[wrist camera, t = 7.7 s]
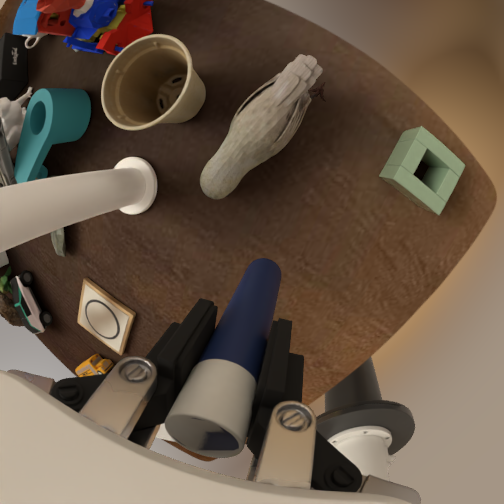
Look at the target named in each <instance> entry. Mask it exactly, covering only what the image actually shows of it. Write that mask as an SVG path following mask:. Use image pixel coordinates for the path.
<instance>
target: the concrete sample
mask: <svg viewBox="0 0 504 504" xmlns="http://www.w3.org/2000/svg"><path fill="white" fill-rule="evenodd" d="M0 314H1V316H2V317H4V318H5V320H7V321H8V322H9V323H10V324H12V325H13V326H24V324H23V322H22V320H21V318H20V316H19V314H18V312H17V310H16V308H15V306H14V302H13V300H12V299H9V298H8V297H7V296H6V295H5V294H3V293H2V292H1V291H0Z"/></svg>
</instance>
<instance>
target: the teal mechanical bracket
mask: <svg viewBox="0 0 504 504" xmlns="http://www.w3.org/2000/svg"><path fill="white" fill-rule="evenodd" d="M90 115H91V103H90V99H89V96H88V94H87V93H86V92H85V91H84V90H82V89H63V88H43V89H39V90H38V91H37V92H35V94H34V95H33V96H32V98H31V100H30V102H29V104H28V107H27V111H26V114H25V118H24V122H23V126H22V131H21V135H20V140H19V145H18V150H17V156H16V162H15V169H14V176H15V179H16V181H17V183H18V184H19V183H24V182H29V181H34V180H40V179H45V178H46V177H47V174H48V170H47V168H46V167H45V166H43V165H42V163H43V161H44V159H45V157H46V155H47V153H48V151H49V150H50V148H51V146H52V144H58V143H64V142H71V141H76V140H78V139H79V138H80V137H81V136H82V135H83V134H84V132H85V131H86V129H87V126H88V124H89V120H90ZM36 178H37V179H36Z"/></svg>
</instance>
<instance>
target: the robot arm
mask: <svg viewBox="0 0 504 504" xmlns="http://www.w3.org/2000/svg"><path fill="white" fill-rule="evenodd" d="M216 316H217V306H214V302H213V301H209V300H205V299H202V298H200V299H199V300H198V302H197V303H196V304H195V306H194V307H193V308H192V310H191V311H190V312H189V314H188V315H187V317H186V318H185V319H184V321H183V322H182V323H181V324H179V323H176V322H173V323H172V324H171V325H170V327H169V328H168V329H167V330H166V332H165V333H164V334H163V335H162V337H161V338H160V339H159V341H158V342H157V343H156V344H155V346H154V347H153V348H152V350H151V351H150V352H149V353H148V355H147V356H146V357H145V358H144V357H140V356H130V357H126V358H124V359H121V360H120V361H119V362H118V363H117V364H116V365H115V367H114V368H113V369H112V370H111V372H110V373H105V374H98V375H91V376H83V377H75V378H66V379H62V380H60V381H58V382H55V381H54V379H51V378H46V377H42V376H38V375H34V374H30V373H26V372H22V371H18V370H9V371H7V372H6V371H2V370H0V504H420V503H421V498H420V495H419V494H418V492H417V491H416V490H414V489H412V488H409V487H406V486H402V485H399V484H396V483H393V482H390V481H389V473H388V468H389V467H390V465H391V463H390V462H393V461H394V460H395V456H393V455H388V449H387V448H388V447H389V446H390V444H391V442H392V436H391V432H390V431H389V430H388V429H386V428H383V427H380V426H360V427H354V428H351V429H347V430H345V431H342V432H340V433H338V434H335V435H334V436H332V437H331V438H330V439H329V440H326V439H325V438H324V437H323V436H322V435H321V434H320V433H319V432H318V431H317V430H316V422H317V421H316V415H315V413H314V412H313V410H312V409H311V408H309V406H307V405H305V404H304V403H302V387H303V367H304V356H303V355H298V354H293V353H289V349H290V339H291V329H292V321H289V320H285V319H280V318H279V320H278V321H273V323H272V326H271V330H270V334H269V338H268V341H267V345H266V350H265V354H264V359H263V363H262V367H261V371H260V376H259V380H258V384H257V389H256V393H255V397H254V401H253V405H252V417H251V421H250V425H249V429H248V433H247V437H248V439H247V443H246V444H247V447H248V448H249V449H250V450H251V452H252V453H253V454H254V455H253V458H252V461H251V465H250V468H249V472H248V475H247V479H246V480H243V479H239V478H235V477H230V476H226V475H223V474H219V473H215V472H212V471H208V470H205V469H201V468H198V467H195V466H192V465H189V464H186V463H183V462H180V461H177V460H174V459H171V458H169V457H166V456H164V455H161V454H159V453H156V452H153V451H151V450H149V449H150V447H151V445H152V443H153V441H154V439H155V437H156V435H157V433H158V431H159V429H160V425H161V424H164V423H165V419H166V417H167V415H168V414H169V412H170V410H171V408H172V406H173V404H174V402H175V401H176V399H177V397H178V395H179V393H180V391H181V389H182V388H183V386H184V384H185V382H186V380H187V378H188V376H189V375H190V373H191V371H192V369H193V368H194V366H195V365H197V363H198V361H199V359H200V357H201V355H202V353H203V352H204V350H205V348H206V346H207V344H208V342H209V340H210V338H211V336H212V335H213V333H214V330H215V323H216Z"/></svg>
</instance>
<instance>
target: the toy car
mask: <svg viewBox="0 0 504 504" xmlns="http://www.w3.org/2000/svg"><path fill="white" fill-rule="evenodd" d="M31 282H32V274H31V273H30V272H29V271H23V272H22V273H21V275H19V276H16V277H15V278H13V279H12V280H11V281H10V283H11V288H12V295H13V302H14V306H15V308H16V310H17V312H18V314H19V316H20V318H21V320H22V322H23V324H24V326H25V327H26V328H27V329H28V330H29V331H31V332H32V333H34V334H37V333H40V332H43V331H45V328H47V327H46V326H49V325H50V324H51V323H52V316H51V314H50V313H49V312H46V311H45V312H42V313H41V311H42V310H41V308H40V306H39V304H38V302H37V300H36V298H35V296H34V294H33V292H32V290H31V288H30V286H29V287H28V285H30V284H31Z"/></svg>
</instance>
